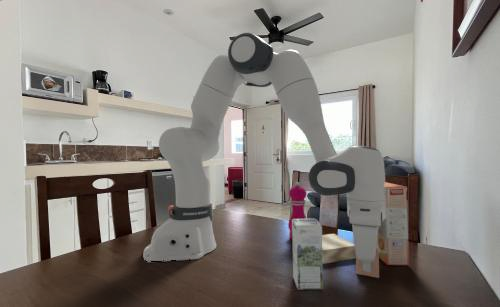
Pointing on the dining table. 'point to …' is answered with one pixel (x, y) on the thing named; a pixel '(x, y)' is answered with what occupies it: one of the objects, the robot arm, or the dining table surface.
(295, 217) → the pepper mill
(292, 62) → the robot arm
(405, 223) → the cracker box
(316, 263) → the syrup box
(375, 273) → the terracotta cube
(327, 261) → the birch block
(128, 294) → the dining table surface
